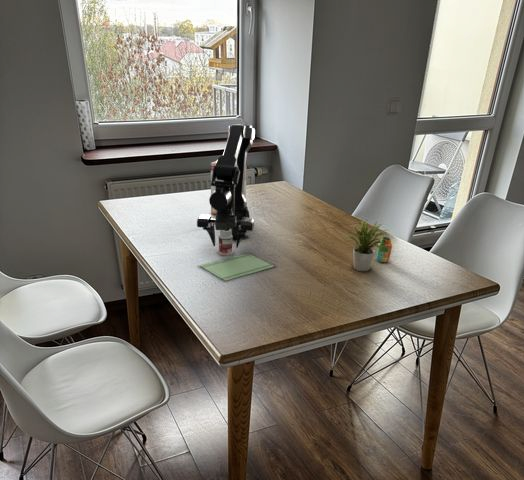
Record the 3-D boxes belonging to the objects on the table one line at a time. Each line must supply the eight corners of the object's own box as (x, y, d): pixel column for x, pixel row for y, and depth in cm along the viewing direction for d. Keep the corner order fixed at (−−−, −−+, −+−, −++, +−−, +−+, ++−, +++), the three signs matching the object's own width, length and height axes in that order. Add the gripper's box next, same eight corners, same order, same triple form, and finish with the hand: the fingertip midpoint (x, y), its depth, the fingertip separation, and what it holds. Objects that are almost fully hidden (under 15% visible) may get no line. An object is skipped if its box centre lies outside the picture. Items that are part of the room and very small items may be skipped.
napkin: (199, 266, 169) (199, 265, 168) (248, 254, 180) (248, 253, 179) (225, 281, 160) (225, 280, 159) (274, 267, 171) (274, 266, 170)
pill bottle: (218, 250, 181) (218, 227, 177) (232, 250, 182) (232, 227, 177) (218, 255, 177) (218, 231, 173) (232, 255, 178) (233, 232, 173)
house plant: (373, 282, 164) (381, 232, 155) (333, 271, 170) (339, 222, 161) (388, 268, 174) (397, 220, 166) (351, 258, 180) (357, 212, 172)
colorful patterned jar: (390, 259, 180) (394, 237, 176) (388, 264, 177) (392, 241, 172) (376, 257, 182) (380, 235, 177) (374, 261, 178) (378, 239, 174)
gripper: (192, 206, 164) (194, 253, 172) (251, 210, 163) (249, 257, 171) (199, 197, 173) (200, 241, 182) (255, 201, 172) (253, 245, 180)
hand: (225, 246), depth 178 cm, fingers open, 8 cm apart
